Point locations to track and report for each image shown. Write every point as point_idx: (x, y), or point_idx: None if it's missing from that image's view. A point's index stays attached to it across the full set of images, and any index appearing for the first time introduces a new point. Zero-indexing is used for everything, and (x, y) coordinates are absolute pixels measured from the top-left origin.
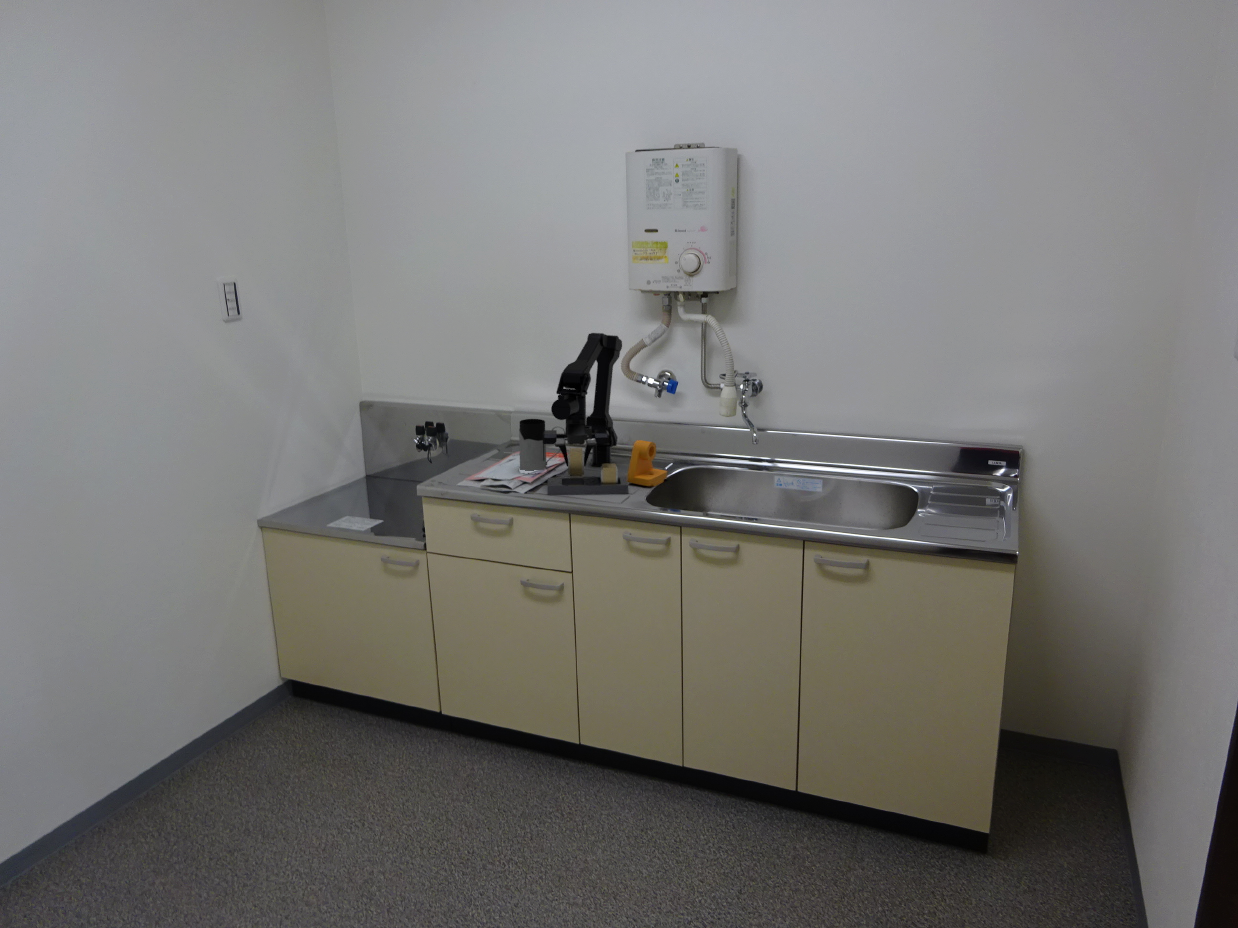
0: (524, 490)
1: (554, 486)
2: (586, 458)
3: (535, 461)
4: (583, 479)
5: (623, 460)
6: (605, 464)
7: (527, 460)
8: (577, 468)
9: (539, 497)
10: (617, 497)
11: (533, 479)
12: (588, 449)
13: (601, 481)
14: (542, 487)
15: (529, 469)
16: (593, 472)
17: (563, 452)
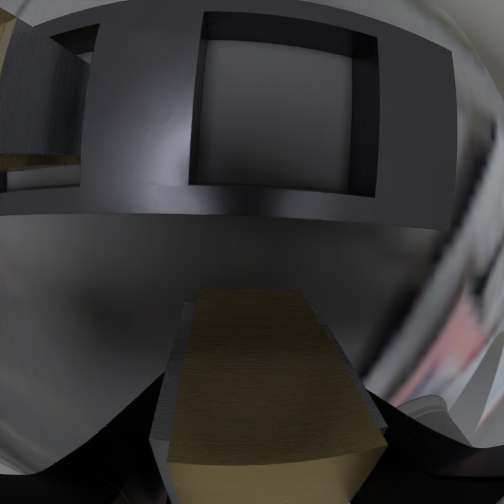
0: (497, 169)
1: (415, 36)
2: (136, 412)
3: None
4: (194, 185)
5: None
6: None
7: (459, 435)
8: (242, 320)
9: (446, 44)
10: (51, 6)
11: (442, 337)
12: (71, 487)
13: (66, 49)
14: None
15: (436, 411)
16: None
17: (433, 440)
